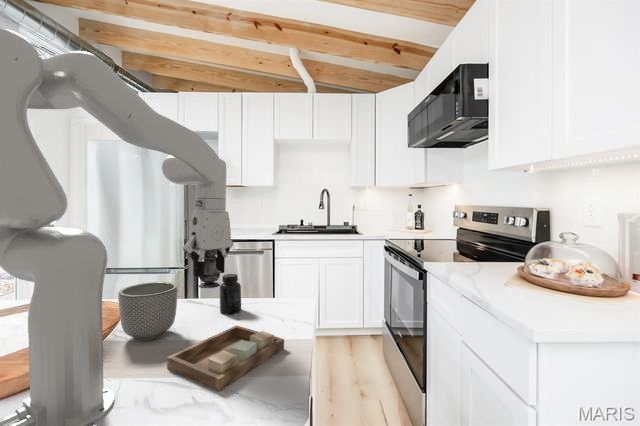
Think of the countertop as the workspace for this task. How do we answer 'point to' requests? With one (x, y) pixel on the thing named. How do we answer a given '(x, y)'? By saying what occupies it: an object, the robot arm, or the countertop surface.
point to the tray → (196, 356)
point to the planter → (147, 309)
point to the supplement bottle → (230, 294)
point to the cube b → (244, 350)
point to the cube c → (262, 339)
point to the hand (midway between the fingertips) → (209, 273)
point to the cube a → (222, 362)
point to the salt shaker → (210, 270)
